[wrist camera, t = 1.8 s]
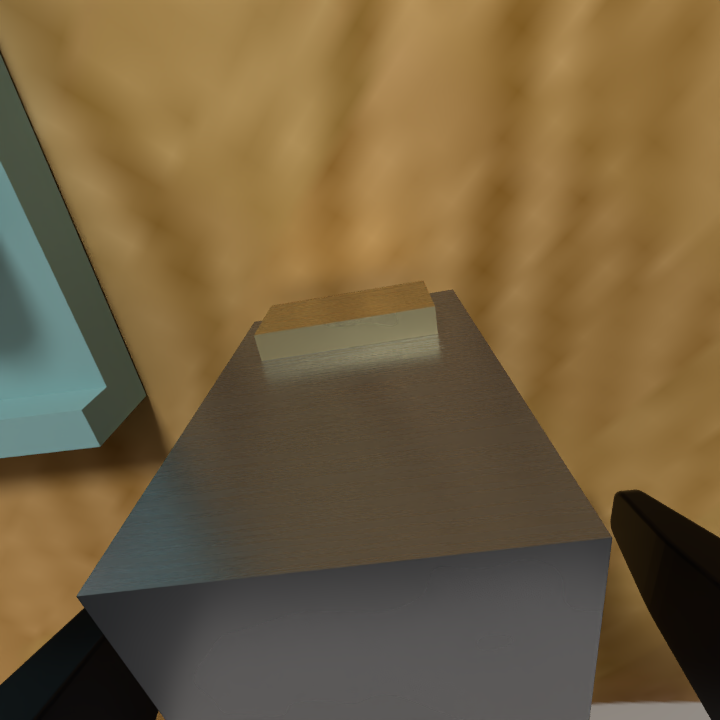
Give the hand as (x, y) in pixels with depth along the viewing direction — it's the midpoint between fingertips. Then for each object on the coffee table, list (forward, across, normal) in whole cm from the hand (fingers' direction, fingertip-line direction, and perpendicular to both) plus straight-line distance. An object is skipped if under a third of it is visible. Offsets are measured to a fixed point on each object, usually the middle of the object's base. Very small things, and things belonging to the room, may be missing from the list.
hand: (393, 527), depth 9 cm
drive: (+2, 0, 0) cm, 2 cm away
